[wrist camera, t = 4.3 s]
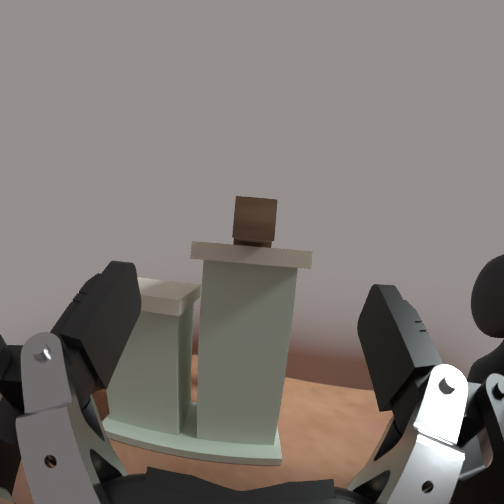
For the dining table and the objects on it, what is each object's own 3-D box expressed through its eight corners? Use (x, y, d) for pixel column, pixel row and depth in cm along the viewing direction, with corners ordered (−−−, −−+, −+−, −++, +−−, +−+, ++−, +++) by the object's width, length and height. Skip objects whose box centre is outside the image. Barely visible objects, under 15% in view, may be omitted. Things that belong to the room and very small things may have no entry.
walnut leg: (238, 246, 45) (240, 218, 45) (265, 248, 45) (268, 220, 45) (225, 242, 23) (230, 189, 23) (279, 247, 23) (283, 194, 23)
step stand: (130, 396, 47) (129, 237, 47) (273, 416, 48) (293, 250, 47) (98, 434, 32) (85, 232, 32) (280, 465, 33) (312, 251, 32)
